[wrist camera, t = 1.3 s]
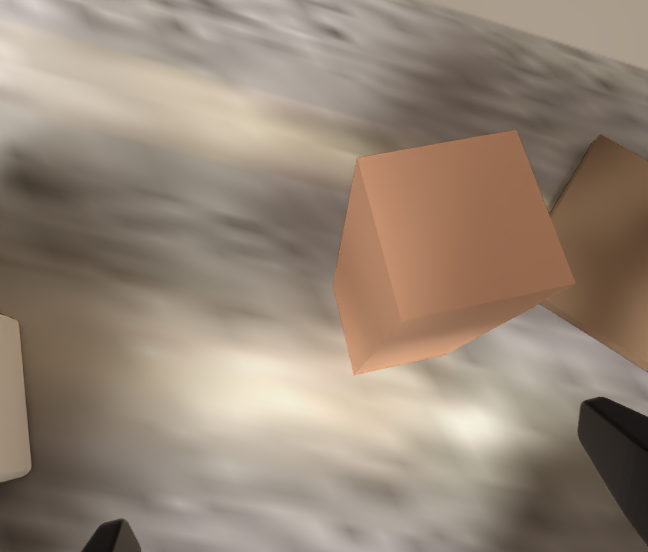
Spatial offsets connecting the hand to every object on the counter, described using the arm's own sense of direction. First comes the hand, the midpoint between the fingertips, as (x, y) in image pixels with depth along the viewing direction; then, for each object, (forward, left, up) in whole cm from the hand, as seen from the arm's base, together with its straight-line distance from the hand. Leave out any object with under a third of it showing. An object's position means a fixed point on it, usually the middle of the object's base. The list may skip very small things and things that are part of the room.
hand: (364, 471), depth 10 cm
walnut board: (-8, -16, -13) cm, 23 cm away
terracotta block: (+1, -6, -13) cm, 15 cm away
